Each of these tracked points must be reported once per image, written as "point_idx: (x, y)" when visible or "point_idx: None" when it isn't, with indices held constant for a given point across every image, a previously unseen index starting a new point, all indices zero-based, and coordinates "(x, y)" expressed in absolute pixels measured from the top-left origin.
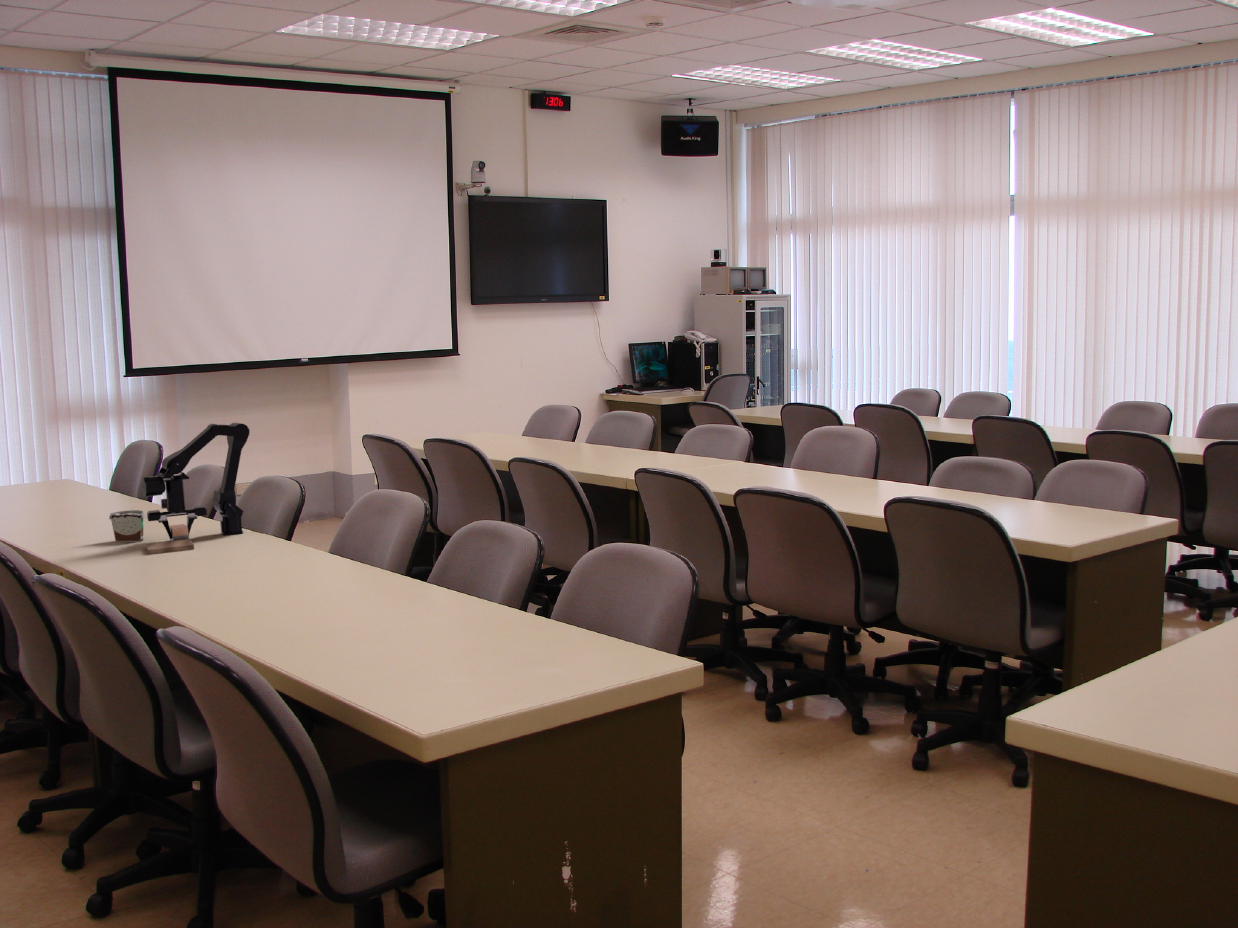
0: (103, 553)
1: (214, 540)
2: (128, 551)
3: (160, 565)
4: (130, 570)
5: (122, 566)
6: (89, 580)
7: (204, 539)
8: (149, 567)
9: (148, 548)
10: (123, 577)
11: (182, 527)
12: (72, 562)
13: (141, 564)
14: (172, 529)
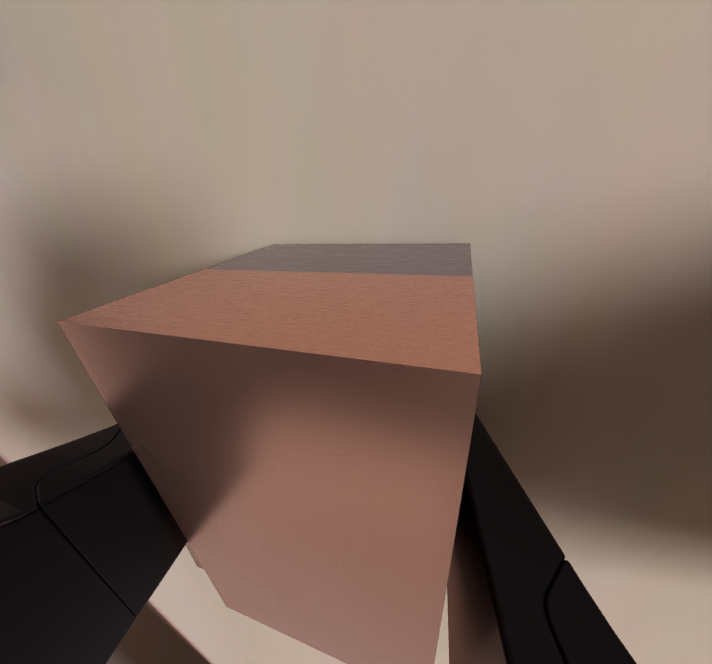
0: (12, 382)
1: (705, 589)
2: (103, 427)
3: (278, 654)
4: (213, 625)
5: (180, 587)
6: (156, 610)
7: (654, 481)
8: (252, 643)
9: (190, 548)
10: (214, 644)
11: (351, 643)
12: (7, 445)
13: (225, 611)
14: (229, 604)
